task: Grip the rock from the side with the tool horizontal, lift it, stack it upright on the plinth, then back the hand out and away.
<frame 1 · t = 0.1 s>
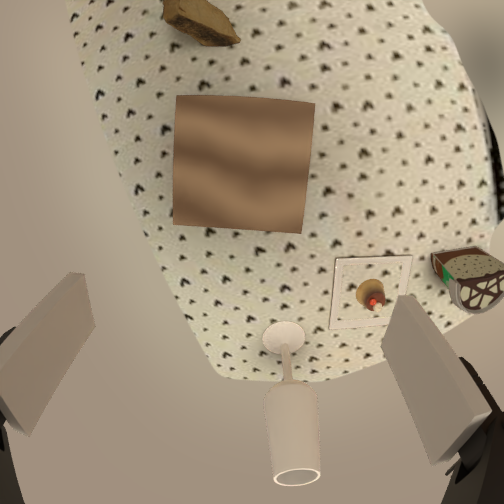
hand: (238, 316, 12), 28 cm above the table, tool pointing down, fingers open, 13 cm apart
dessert: (368, 290, 44), on the table
food container: (451, 266, 42), on the table
rock: (204, 15, 29), on the table
champagne flute: (283, 337, 47), on the table
plinth: (242, 160, 36), on the table
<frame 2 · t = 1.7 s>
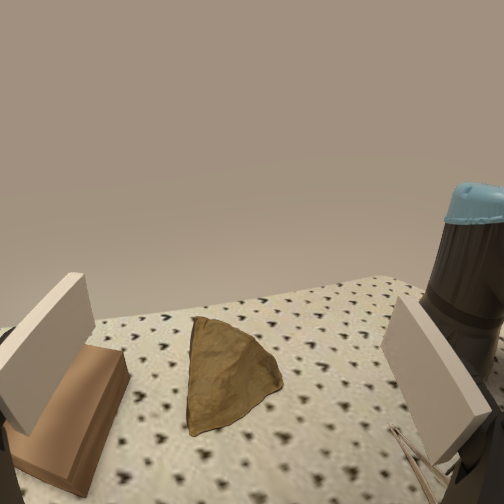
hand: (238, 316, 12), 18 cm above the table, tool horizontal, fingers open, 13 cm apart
rock: (236, 403, 28), on the table
tweezers: (416, 471, 20), on the table
plinth: (45, 412, 22), on the table
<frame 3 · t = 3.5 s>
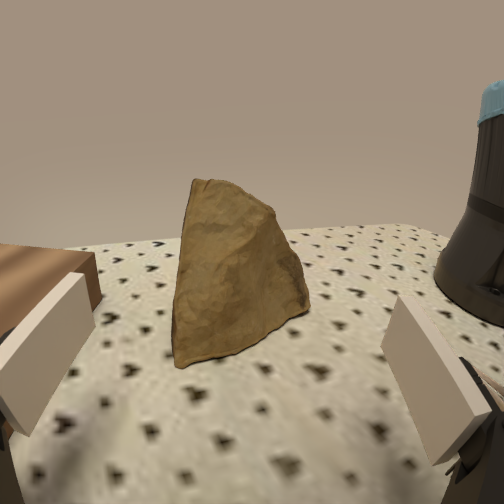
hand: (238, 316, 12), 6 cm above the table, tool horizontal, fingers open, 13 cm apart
rock: (246, 329, 21), on the table
tweezers: (496, 411, 13), on the table
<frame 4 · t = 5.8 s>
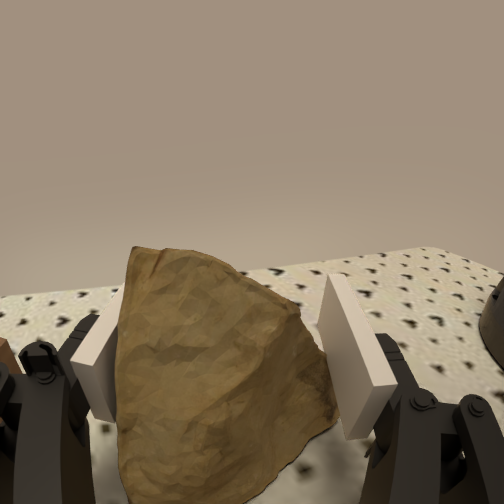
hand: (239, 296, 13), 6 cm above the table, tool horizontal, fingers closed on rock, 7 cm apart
rock: (245, 460, 12), on the table, touching gripper
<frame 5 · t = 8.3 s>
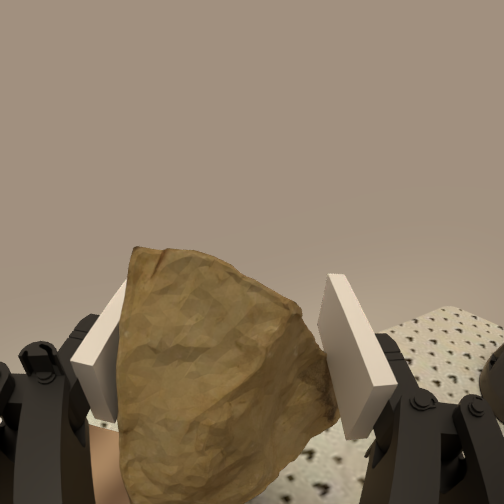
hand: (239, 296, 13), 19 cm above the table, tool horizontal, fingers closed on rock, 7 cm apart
rock: (246, 460, 12), point 13 cm above the table, touching gripper
when the fingers open (11 cm above the table, at t = 10.5 s): rock drops 1 cm, resting on plinth.
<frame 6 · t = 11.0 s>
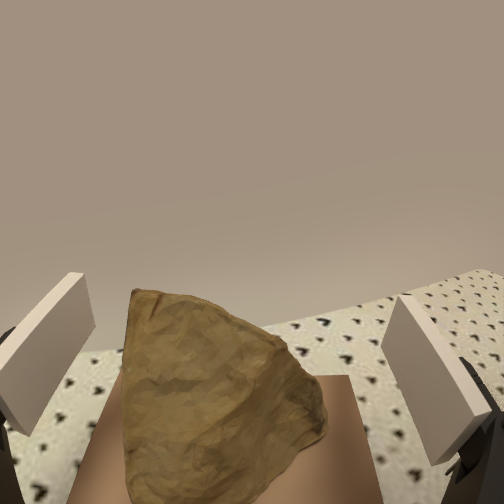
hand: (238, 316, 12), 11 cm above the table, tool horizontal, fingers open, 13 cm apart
rock: (239, 471, 12), point 4 cm above the table, touching plinth
plinth: (228, 499, 14), on the table
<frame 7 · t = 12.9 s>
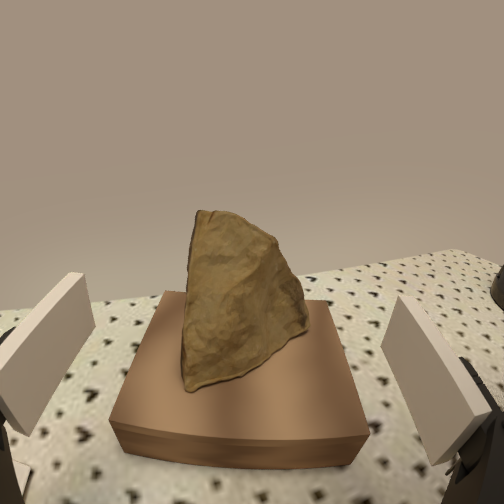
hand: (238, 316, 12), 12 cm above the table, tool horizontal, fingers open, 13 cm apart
rock: (250, 350, 22), point 4 cm above the table, touching plinth
plinth: (240, 387, 23), on the table
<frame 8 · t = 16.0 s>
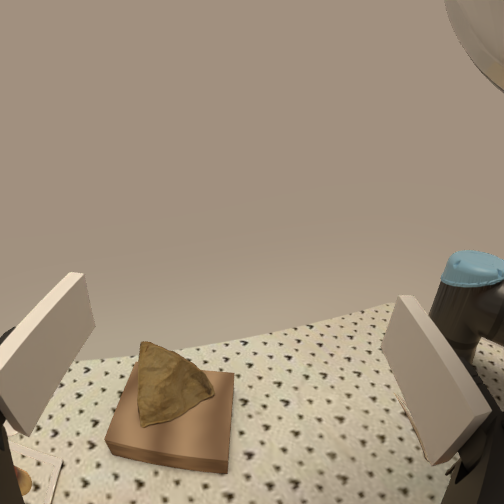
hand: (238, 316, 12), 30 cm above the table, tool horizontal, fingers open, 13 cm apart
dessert: (20, 484, 21), on the table
rock: (178, 405, 36), point 4 cm above the table, touching plinth
champagne flute: (9, 419, 30), on the table
tweezers: (410, 420, 38), on the table
plinth: (176, 422, 37), on the table
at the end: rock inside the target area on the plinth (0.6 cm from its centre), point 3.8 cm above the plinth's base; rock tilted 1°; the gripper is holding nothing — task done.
